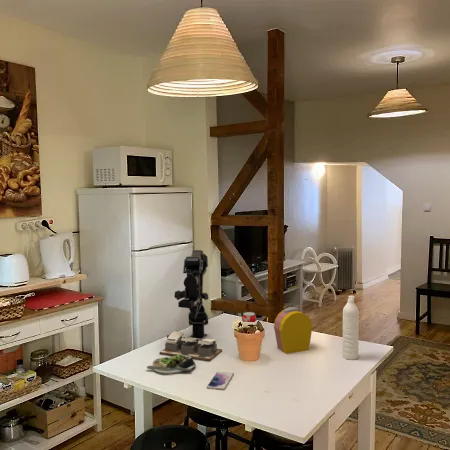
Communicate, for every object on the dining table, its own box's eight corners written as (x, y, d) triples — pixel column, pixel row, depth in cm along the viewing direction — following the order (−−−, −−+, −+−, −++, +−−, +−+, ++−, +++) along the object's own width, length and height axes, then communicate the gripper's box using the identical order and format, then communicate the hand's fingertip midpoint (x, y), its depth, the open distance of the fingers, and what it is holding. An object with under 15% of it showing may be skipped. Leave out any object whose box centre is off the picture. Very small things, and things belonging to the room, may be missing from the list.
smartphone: (205, 387, 167) (216, 371, 182) (205, 389, 167) (216, 373, 182) (224, 389, 166) (234, 372, 180) (225, 391, 166) (234, 374, 180)
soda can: (257, 340, 219) (256, 315, 218) (242, 340, 219) (241, 315, 218) (256, 336, 226) (256, 311, 225) (241, 336, 226) (241, 311, 225)
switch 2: (206, 340, 205) (206, 338, 205) (216, 342, 203) (216, 339, 203) (197, 343, 197) (198, 340, 197) (208, 344, 195) (208, 342, 196)
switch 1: (174, 333, 211) (173, 330, 211) (183, 334, 209) (183, 332, 209) (165, 342, 204) (165, 340, 204) (175, 343, 202) (175, 341, 202)
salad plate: (148, 379, 177) (148, 367, 176) (144, 362, 194) (144, 352, 194) (199, 373, 182) (198, 362, 181) (190, 357, 199) (190, 347, 199)
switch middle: (189, 339, 208) (189, 337, 208) (199, 340, 206) (200, 338, 206) (181, 340, 201) (181, 337, 201) (191, 341, 199) (191, 339, 199)
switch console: (174, 345, 214) (173, 330, 214) (222, 351, 205) (221, 336, 204) (159, 354, 202) (159, 339, 202) (209, 361, 193) (209, 346, 193)
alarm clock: (302, 344, 213) (302, 304, 212) (312, 349, 206) (312, 308, 204) (273, 348, 208) (273, 307, 207) (282, 354, 200) (281, 312, 199)
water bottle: (357, 360, 192) (358, 300, 190) (341, 359, 194) (342, 299, 192) (359, 353, 200) (359, 296, 198) (343, 352, 202) (343, 295, 200)
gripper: (187, 279, 221) (187, 312, 222) (167, 287, 204) (168, 322, 205) (208, 281, 216) (209, 314, 218) (189, 289, 199) (190, 325, 201)
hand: (194, 318), depth 210 cm, fingers closed
